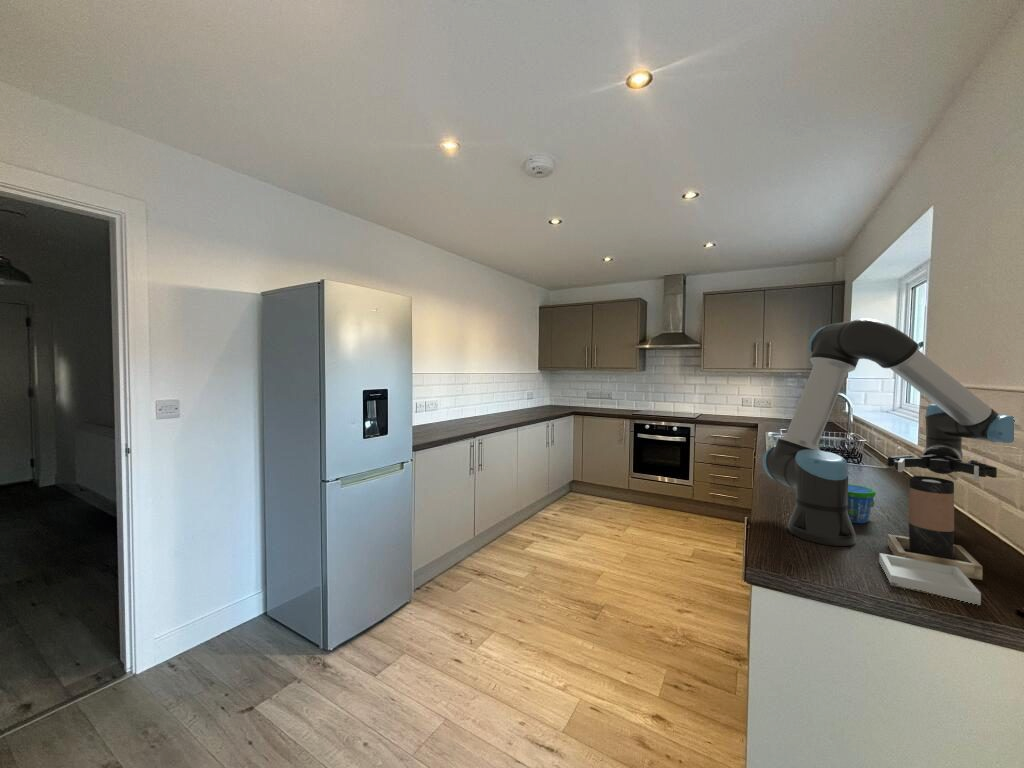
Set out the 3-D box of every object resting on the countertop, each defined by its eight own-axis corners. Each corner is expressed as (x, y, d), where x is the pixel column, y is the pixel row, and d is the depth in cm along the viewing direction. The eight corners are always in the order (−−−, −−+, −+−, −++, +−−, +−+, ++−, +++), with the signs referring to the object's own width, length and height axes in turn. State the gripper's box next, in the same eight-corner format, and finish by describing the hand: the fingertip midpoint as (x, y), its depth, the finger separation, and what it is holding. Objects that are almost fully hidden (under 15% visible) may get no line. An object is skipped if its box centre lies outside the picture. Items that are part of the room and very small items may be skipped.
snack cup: (847, 527, 120) (847, 493, 119) (815, 515, 130) (815, 484, 130) (891, 524, 122) (891, 491, 122) (856, 513, 132) (856, 482, 132)
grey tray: (890, 586, 86) (890, 575, 86) (879, 563, 97) (879, 553, 97) (980, 605, 79) (981, 593, 79) (957, 578, 89) (957, 567, 89)
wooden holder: (899, 564, 96) (899, 552, 96) (887, 545, 107) (887, 534, 107) (982, 580, 89) (982, 566, 88) (960, 557, 100) (960, 545, 100)
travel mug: (963, 569, 93) (964, 484, 93) (924, 566, 95) (925, 482, 95) (936, 555, 101) (936, 476, 101) (900, 553, 102) (901, 475, 102)
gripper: (1009, 479, 108) (1013, 495, 94) (883, 465, 127) (872, 477, 113) (1009, 451, 108) (1013, 463, 94) (883, 441, 127) (871, 450, 113)
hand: (936, 471), depth 104 cm, fingers open, 13 cm apart
